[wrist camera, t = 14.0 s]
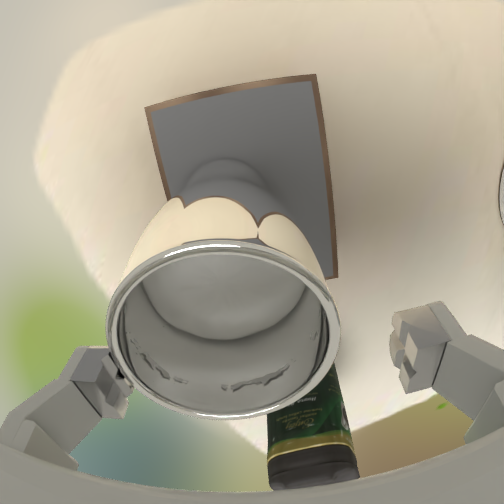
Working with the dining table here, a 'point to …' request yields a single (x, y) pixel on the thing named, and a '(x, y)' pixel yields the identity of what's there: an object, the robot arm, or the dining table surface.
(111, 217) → the dining table surface
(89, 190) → the dining table surface
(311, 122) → the walnut plinth
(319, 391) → the coffee jar
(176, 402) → the beer glass
